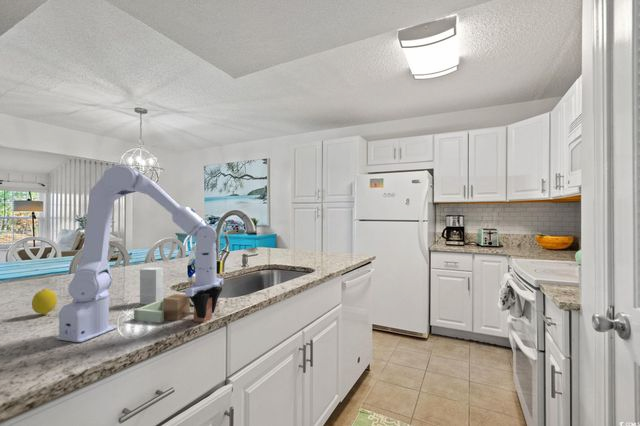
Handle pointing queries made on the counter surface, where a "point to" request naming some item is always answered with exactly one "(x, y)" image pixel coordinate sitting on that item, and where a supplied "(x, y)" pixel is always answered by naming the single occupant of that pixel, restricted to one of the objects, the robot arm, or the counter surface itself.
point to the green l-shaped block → (150, 312)
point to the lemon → (44, 301)
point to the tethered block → (183, 308)
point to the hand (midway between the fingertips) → (206, 315)
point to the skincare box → (151, 285)
